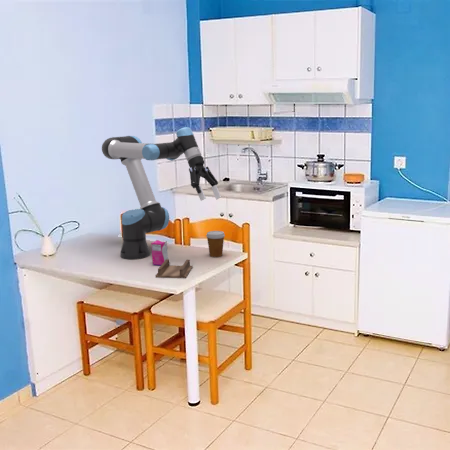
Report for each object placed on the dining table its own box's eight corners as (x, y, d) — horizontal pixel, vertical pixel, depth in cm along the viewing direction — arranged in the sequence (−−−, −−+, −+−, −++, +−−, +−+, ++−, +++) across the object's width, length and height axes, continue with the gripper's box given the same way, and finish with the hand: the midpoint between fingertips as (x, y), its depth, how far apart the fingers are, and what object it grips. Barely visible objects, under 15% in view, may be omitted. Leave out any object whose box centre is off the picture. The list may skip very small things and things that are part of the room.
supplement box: (158, 262, 279) (157, 239, 277) (168, 263, 277) (167, 240, 275) (152, 265, 274) (150, 242, 272) (162, 266, 272) (161, 243, 269)
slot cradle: (155, 277, 255) (155, 269, 254) (163, 267, 270) (163, 259, 270) (185, 278, 253) (185, 269, 252) (192, 267, 268) (192, 259, 268)
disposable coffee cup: (218, 259, 282) (218, 235, 280) (203, 256, 287) (202, 233, 285) (228, 254, 290) (228, 231, 288) (213, 252, 295) (212, 229, 293)
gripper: (185, 154, 256) (202, 196, 253) (214, 155, 278) (230, 194, 275) (173, 161, 260) (190, 203, 257) (203, 162, 281) (218, 201, 278)
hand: (211, 199), depth 266 cm, fingers open, 13 cm apart
